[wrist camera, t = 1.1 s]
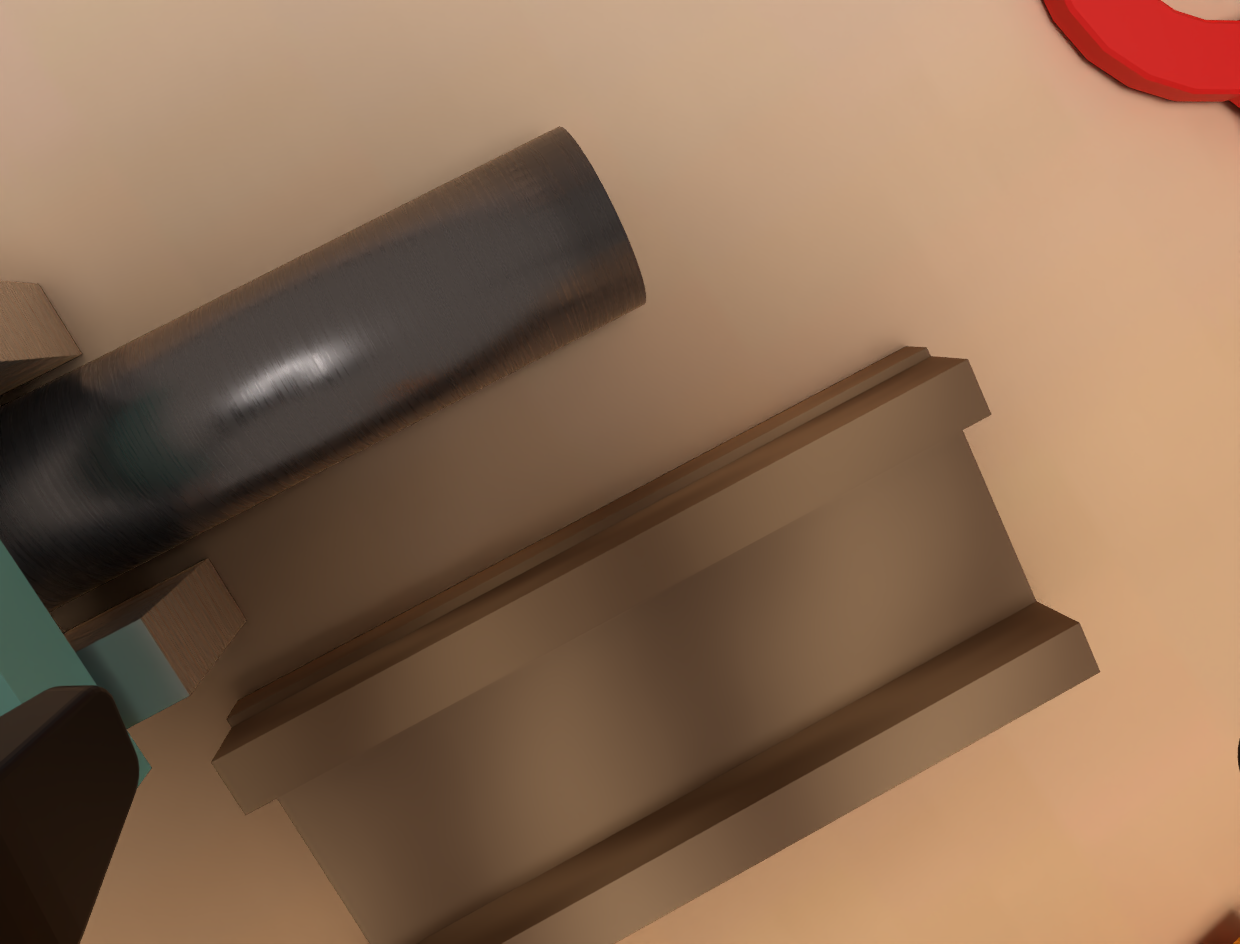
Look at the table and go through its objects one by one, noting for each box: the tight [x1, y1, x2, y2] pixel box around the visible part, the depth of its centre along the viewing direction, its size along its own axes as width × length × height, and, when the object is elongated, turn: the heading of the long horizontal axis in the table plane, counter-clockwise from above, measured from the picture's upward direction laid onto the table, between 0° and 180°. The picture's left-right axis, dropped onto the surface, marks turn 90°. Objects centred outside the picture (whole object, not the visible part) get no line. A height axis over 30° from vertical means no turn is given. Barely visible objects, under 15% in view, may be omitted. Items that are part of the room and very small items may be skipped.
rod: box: [0, 126, 646, 612], centre depth 18 cm, size 14×4×4 cm, turn 117°
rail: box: [211, 346, 1100, 944], centre depth 21 cm, size 16×8×3 cm, turn 117°
